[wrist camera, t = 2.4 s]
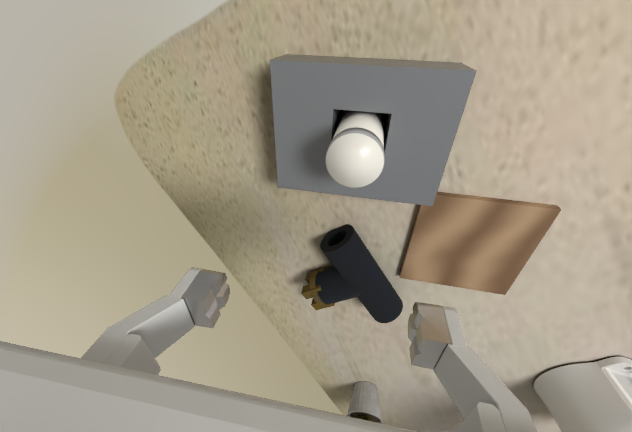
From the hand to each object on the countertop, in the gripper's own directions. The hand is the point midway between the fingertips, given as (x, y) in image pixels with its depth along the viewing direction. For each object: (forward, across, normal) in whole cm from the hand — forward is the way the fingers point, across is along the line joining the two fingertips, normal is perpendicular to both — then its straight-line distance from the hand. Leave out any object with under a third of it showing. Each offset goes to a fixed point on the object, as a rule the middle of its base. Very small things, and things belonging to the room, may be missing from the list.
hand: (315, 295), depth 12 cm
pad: (+22, -16, +13) cm, 30 cm away
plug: (+22, -1, -1) cm, 22 cm away
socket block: (+22, -1, -1) cm, 22 cm away
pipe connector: (+23, -1, +21) cm, 31 cm away
